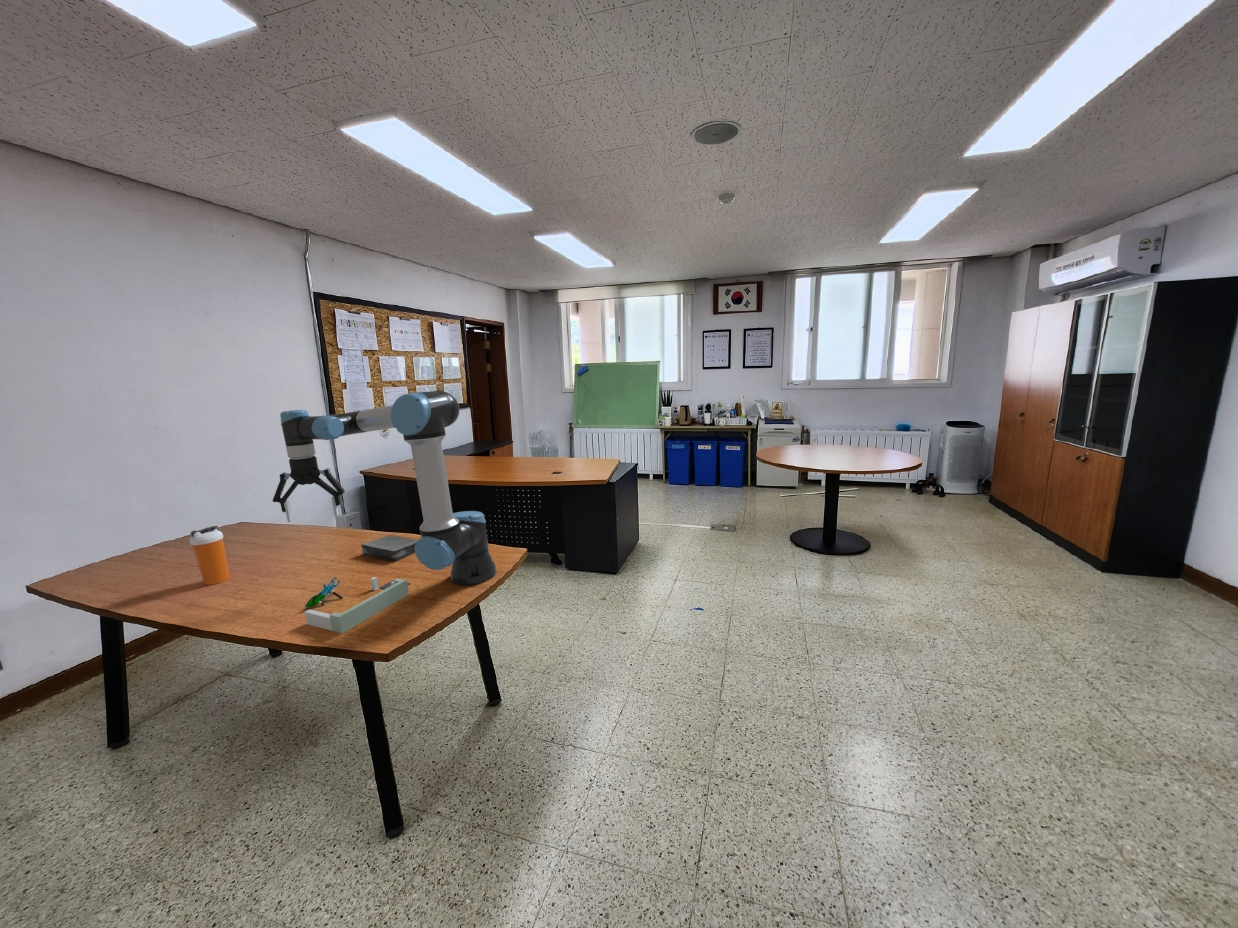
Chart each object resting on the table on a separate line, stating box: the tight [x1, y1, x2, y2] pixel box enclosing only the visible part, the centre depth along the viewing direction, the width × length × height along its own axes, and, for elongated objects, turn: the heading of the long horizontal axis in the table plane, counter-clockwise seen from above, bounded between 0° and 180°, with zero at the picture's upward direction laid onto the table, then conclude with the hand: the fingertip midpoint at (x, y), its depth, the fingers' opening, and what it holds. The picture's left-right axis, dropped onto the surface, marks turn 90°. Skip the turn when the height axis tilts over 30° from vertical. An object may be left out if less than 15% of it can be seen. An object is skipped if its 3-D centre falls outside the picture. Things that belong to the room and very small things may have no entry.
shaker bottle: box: [188, 525, 231, 586], centre depth 159 cm, size 9×9×20 cm
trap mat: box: [379, 579, 411, 590], centre depth 150 cm, size 8×6×1 cm
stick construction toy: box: [304, 576, 344, 609], centre depth 141 cm, size 12×7×8 cm
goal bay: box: [329, 578, 410, 634], centre depth 133 cm, size 4×23×5 cm, turn 158°
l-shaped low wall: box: [304, 576, 394, 632], centre depth 136 cm, size 11×23×4 cm, turn 158°
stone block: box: [360, 534, 418, 563], centre depth 180 cm, size 14×20×5 cm
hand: (314, 517), depth 150 cm, fingers open, 13 cm apart
